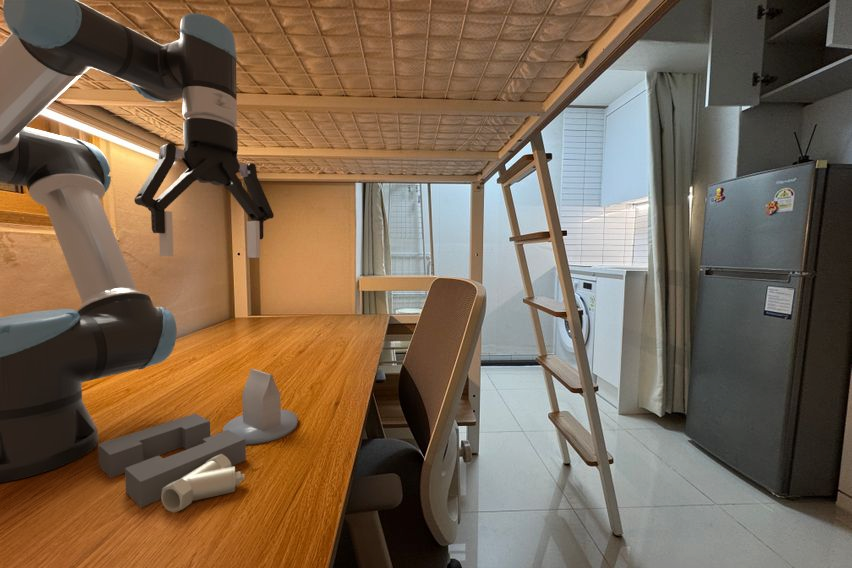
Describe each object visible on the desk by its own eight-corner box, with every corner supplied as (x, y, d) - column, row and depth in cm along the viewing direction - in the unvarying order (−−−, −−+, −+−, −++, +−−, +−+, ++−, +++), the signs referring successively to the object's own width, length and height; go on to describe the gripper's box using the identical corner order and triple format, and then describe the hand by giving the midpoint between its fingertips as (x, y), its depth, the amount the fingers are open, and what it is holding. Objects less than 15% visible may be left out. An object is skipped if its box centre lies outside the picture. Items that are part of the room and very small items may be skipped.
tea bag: (262, 431, 67) (261, 377, 66) (242, 421, 70) (241, 371, 70) (280, 424, 70) (280, 372, 69) (260, 415, 73) (259, 366, 73)
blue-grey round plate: (209, 431, 68) (209, 426, 68) (272, 408, 79) (272, 404, 79) (247, 452, 61) (247, 446, 61) (311, 424, 72) (311, 419, 72)
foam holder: (98, 465, 57) (97, 444, 56) (195, 431, 68) (195, 413, 68) (141, 507, 47) (140, 481, 47) (245, 459, 59) (245, 438, 59)
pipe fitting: (249, 486, 53) (212, 475, 55) (250, 461, 52) (213, 450, 54) (202, 524, 45) (160, 510, 47) (203, 495, 45) (161, 481, 47)
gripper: (122, 87, 46) (128, 255, 47) (292, 142, 67) (293, 258, 68) (102, 101, 50) (109, 255, 51) (268, 149, 71) (270, 258, 72)
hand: (214, 257), depth 60 cm, fingers open, 13 cm apart
